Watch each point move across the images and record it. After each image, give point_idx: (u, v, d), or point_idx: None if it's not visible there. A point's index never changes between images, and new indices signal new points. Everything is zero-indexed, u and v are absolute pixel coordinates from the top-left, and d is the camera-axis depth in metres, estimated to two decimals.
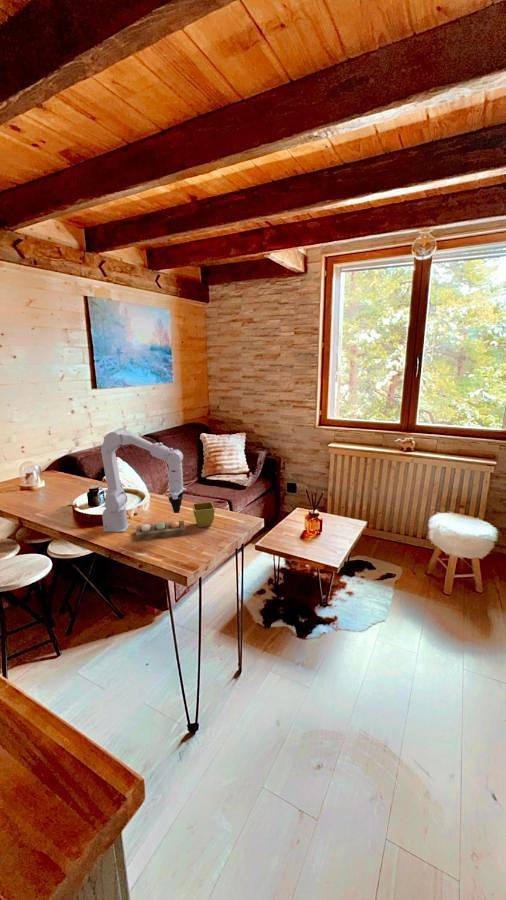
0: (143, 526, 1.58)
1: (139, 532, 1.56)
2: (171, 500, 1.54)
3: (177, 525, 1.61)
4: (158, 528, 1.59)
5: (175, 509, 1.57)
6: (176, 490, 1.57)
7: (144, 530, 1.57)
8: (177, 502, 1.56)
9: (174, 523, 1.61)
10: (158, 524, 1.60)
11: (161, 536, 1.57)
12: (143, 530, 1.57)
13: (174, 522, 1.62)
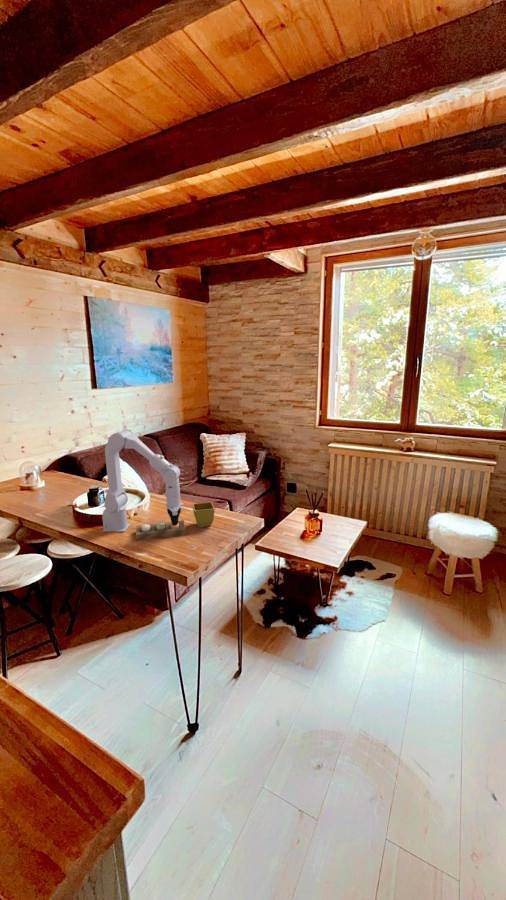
0: (143, 526, 1.58)
1: (139, 532, 1.56)
2: (170, 513, 1.58)
3: (177, 527, 1.61)
4: (158, 528, 1.59)
5: (174, 521, 1.61)
6: (174, 506, 1.57)
7: (144, 530, 1.57)
8: (175, 514, 1.60)
9: (174, 525, 1.61)
10: (158, 524, 1.60)
11: (161, 536, 1.57)
12: (143, 530, 1.57)
13: None
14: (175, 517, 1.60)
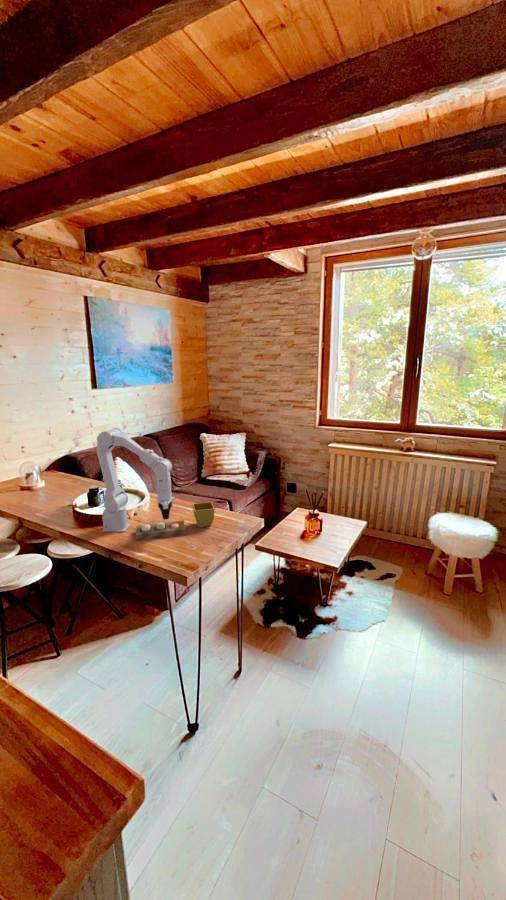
0: (143, 526, 1.58)
1: (139, 532, 1.56)
2: (161, 507, 1.56)
3: (177, 527, 1.61)
4: (158, 528, 1.59)
5: (165, 515, 1.59)
6: (165, 500, 1.56)
7: (144, 530, 1.57)
8: (166, 508, 1.59)
9: (174, 526, 1.61)
10: (158, 524, 1.60)
11: (161, 536, 1.57)
12: (143, 530, 1.57)
13: (175, 525, 1.62)
14: (166, 511, 1.59)
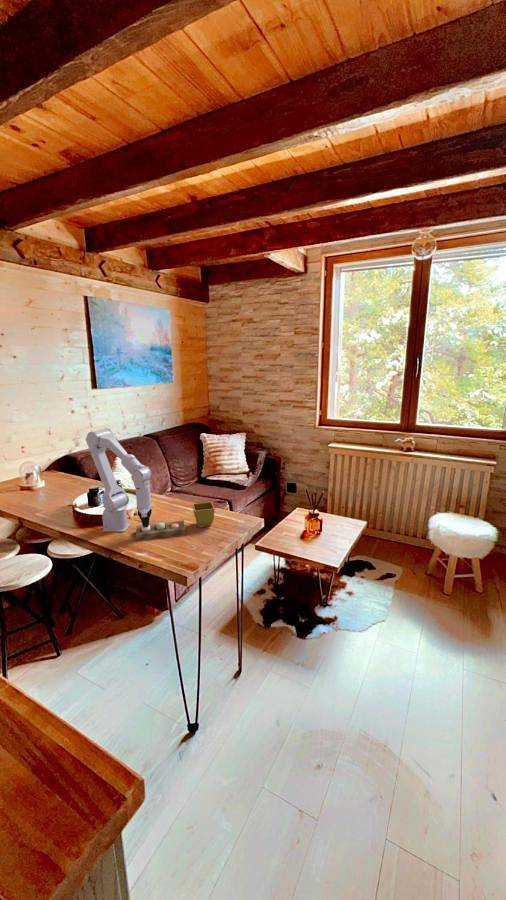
0: (143, 527, 1.58)
1: (139, 532, 1.56)
2: (140, 515, 1.55)
3: (177, 527, 1.61)
4: (158, 528, 1.59)
5: (145, 523, 1.58)
6: (144, 507, 1.54)
7: (144, 531, 1.57)
8: (146, 516, 1.57)
9: (174, 526, 1.61)
10: (158, 524, 1.60)
11: (161, 536, 1.57)
12: (143, 531, 1.57)
13: (175, 525, 1.62)
14: (146, 519, 1.57)
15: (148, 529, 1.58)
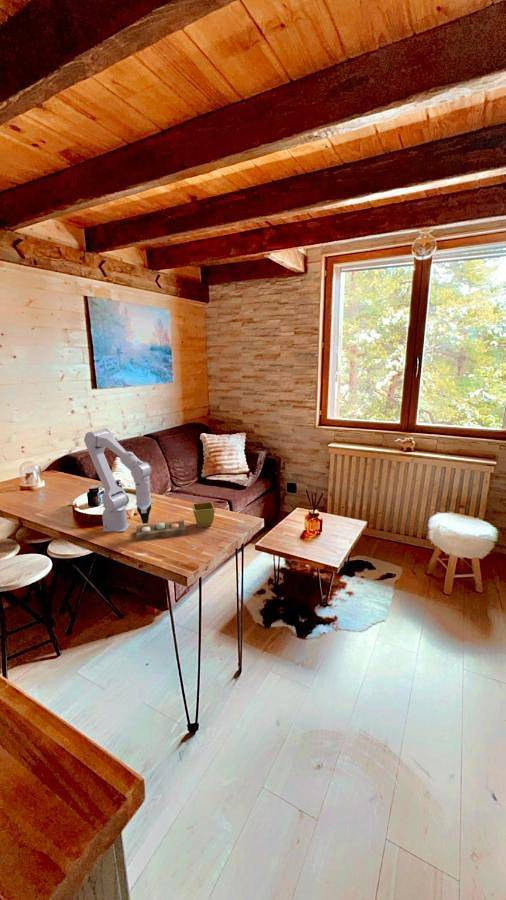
0: (143, 528, 1.59)
1: (139, 532, 1.56)
2: (140, 511, 1.54)
3: (177, 527, 1.61)
4: (158, 528, 1.59)
5: (144, 519, 1.57)
6: (144, 504, 1.54)
7: None
8: (146, 512, 1.57)
9: (174, 526, 1.61)
10: (158, 524, 1.60)
11: (161, 536, 1.57)
12: None
13: (175, 525, 1.62)
14: (145, 515, 1.57)
15: None
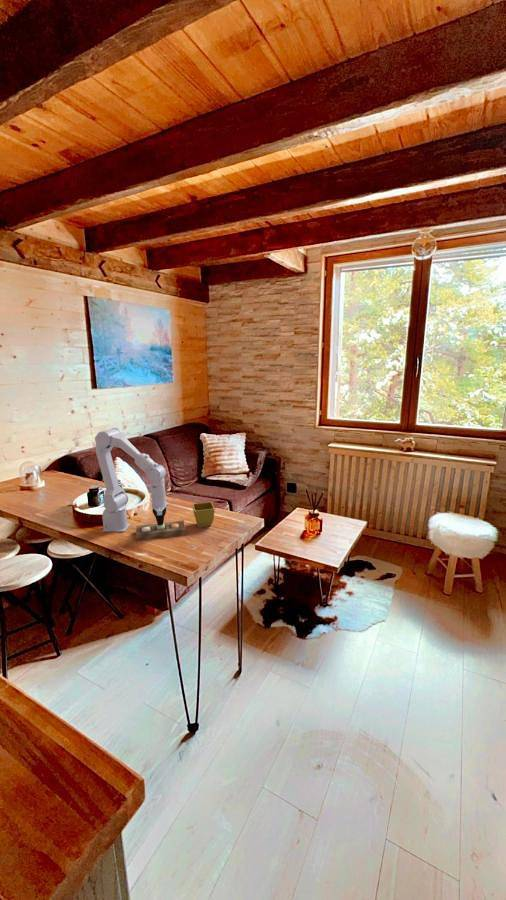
0: (143, 528, 1.59)
1: (139, 532, 1.56)
2: (155, 513, 1.56)
3: (177, 527, 1.61)
4: (158, 528, 1.59)
5: (159, 521, 1.59)
6: (159, 506, 1.55)
7: None
8: (161, 514, 1.58)
9: (174, 526, 1.61)
10: None
11: (161, 536, 1.57)
12: None
13: (175, 525, 1.62)
14: (160, 517, 1.59)
15: None
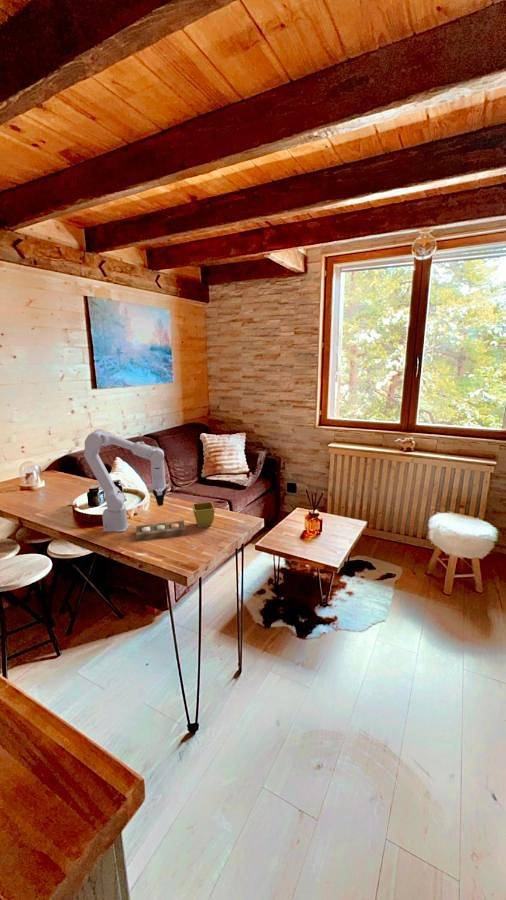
0: (143, 528, 1.59)
1: (139, 532, 1.56)
2: (155, 494, 1.63)
3: (177, 527, 1.61)
4: None
5: (159, 502, 1.66)
6: (159, 487, 1.62)
7: None
8: (161, 495, 1.65)
9: (174, 526, 1.61)
10: (158, 526, 1.60)
11: (161, 536, 1.57)
12: None
13: (175, 525, 1.62)
14: (160, 498, 1.65)
15: None
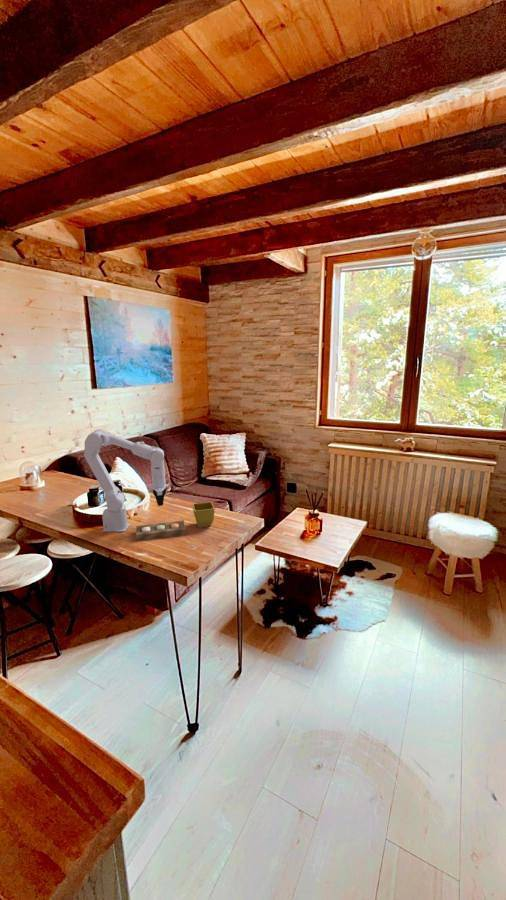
0: (143, 528, 1.59)
1: (139, 532, 1.56)
2: (155, 494, 1.63)
3: (177, 527, 1.61)
4: None
5: (159, 502, 1.66)
6: (159, 486, 1.62)
7: None
8: (161, 495, 1.65)
9: (174, 526, 1.61)
10: (158, 526, 1.60)
11: (161, 536, 1.57)
12: None
13: (175, 525, 1.62)
14: (160, 498, 1.65)
15: None
